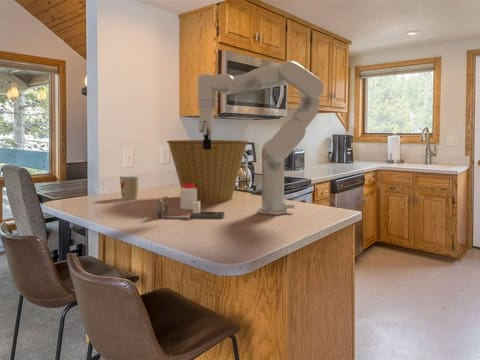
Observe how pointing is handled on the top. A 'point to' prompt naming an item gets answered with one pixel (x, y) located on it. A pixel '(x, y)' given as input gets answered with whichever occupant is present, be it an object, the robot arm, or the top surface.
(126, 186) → the coffee cup
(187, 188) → the pill bottle
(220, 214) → the board
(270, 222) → the top surface
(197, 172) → the basket
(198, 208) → the fader cap
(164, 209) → the door
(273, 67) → the robot arm
